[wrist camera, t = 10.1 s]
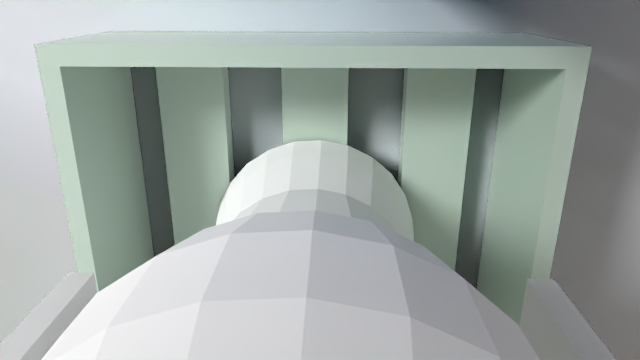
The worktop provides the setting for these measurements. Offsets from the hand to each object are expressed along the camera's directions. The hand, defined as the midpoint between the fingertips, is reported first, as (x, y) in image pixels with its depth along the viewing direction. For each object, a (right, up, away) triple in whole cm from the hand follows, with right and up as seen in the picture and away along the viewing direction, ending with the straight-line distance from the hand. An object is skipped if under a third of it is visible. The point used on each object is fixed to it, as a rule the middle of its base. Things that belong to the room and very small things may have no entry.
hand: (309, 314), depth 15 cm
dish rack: (0, +2, +6) cm, 7 cm away
